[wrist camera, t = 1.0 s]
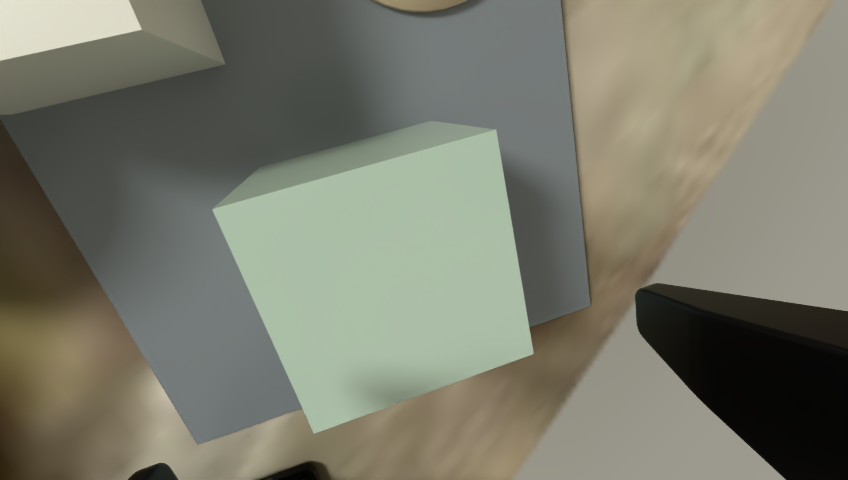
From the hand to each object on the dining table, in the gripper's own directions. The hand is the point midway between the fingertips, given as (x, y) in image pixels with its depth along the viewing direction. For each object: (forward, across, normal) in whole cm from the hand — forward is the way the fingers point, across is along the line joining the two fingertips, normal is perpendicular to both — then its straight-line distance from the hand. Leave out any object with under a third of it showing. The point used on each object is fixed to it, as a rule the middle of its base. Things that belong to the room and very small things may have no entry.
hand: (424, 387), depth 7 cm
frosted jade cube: (+11, 0, 0) cm, 11 cm away
